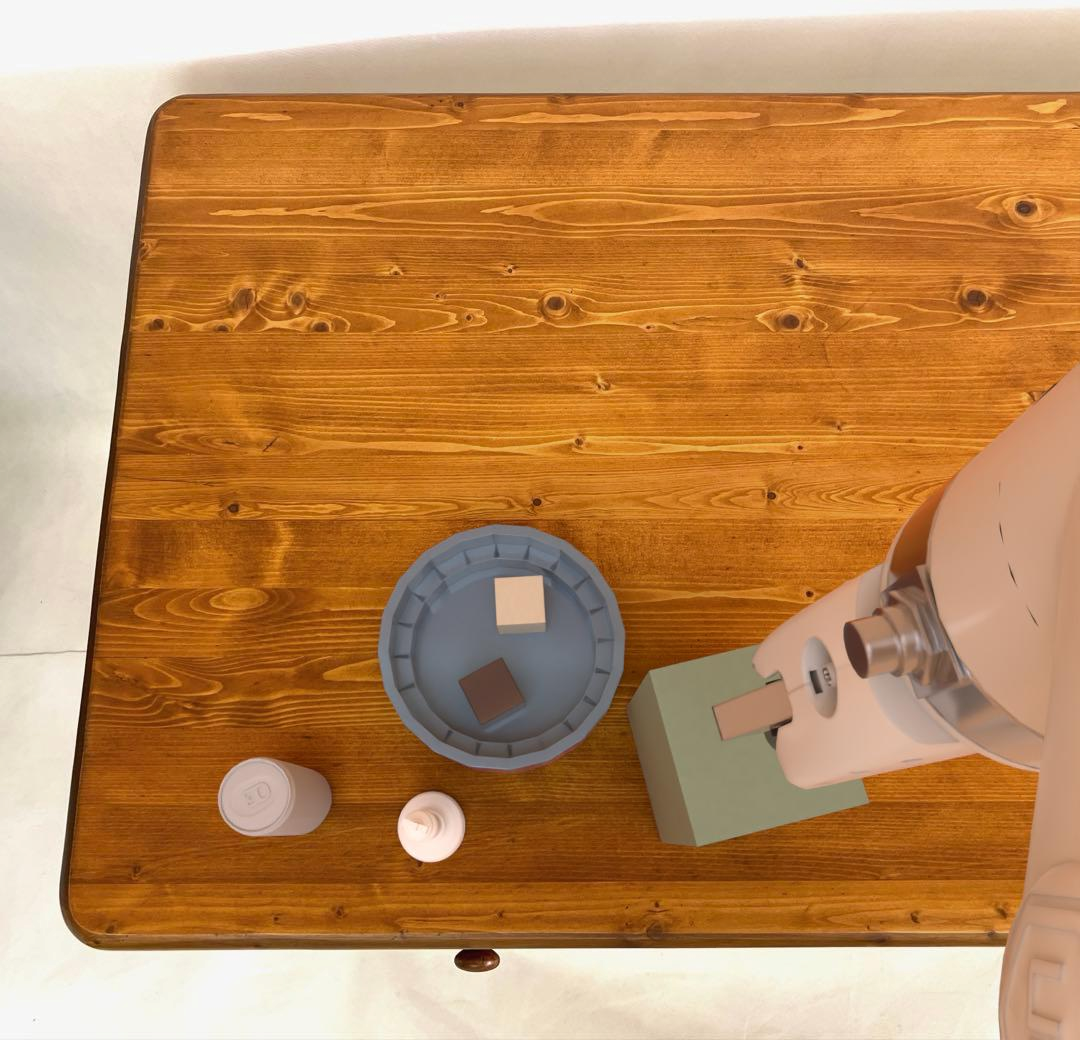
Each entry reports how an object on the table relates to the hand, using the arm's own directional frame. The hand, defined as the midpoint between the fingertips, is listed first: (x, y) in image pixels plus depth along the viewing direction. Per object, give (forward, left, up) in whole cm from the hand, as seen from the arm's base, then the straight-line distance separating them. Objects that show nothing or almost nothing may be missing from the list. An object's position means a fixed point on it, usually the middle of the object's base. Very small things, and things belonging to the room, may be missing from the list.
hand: (839, 705), depth 40 cm
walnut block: (+8, +14, -34) cm, 38 cm away
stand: (0, 0, -34) cm, 34 cm away
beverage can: (+4, +30, -35) cm, 46 cm away
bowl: (+11, +13, -34) cm, 38 cm away
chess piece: (0, +21, -35) cm, 40 cm away
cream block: (+14, +11, -34) cm, 38 cm away
